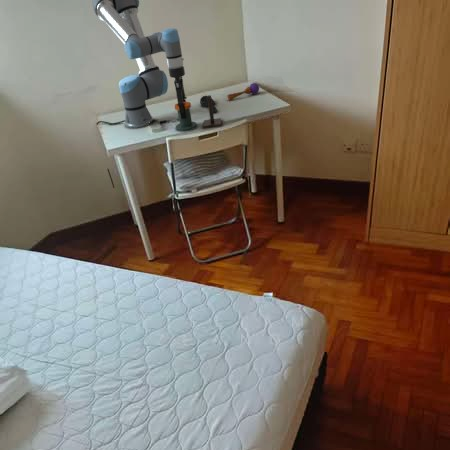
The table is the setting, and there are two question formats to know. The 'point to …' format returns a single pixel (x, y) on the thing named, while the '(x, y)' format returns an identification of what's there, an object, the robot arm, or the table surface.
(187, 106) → the ring
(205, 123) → the post
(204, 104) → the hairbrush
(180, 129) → the stand
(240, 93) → the kendama
